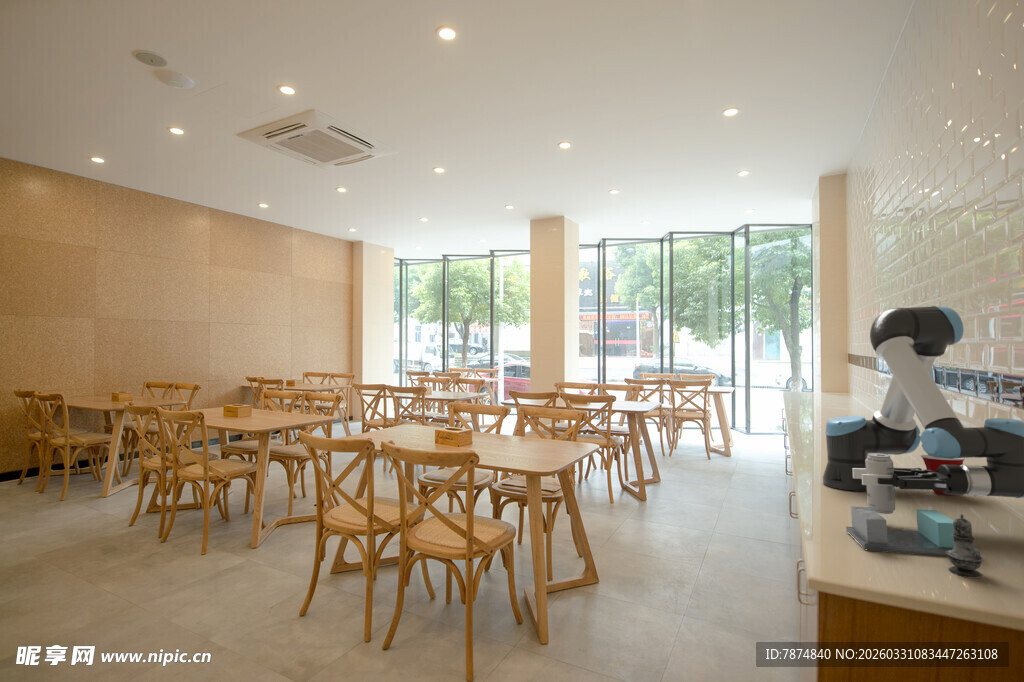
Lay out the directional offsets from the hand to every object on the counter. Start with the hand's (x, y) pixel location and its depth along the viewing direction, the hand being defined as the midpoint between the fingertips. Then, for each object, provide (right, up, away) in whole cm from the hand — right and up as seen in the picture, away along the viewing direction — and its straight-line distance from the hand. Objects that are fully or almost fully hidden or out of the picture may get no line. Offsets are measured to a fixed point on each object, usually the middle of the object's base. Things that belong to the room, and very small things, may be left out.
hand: (857, 476), depth 135 cm
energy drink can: (+5, -9, -2) cm, 11 cm away
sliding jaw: (+7, -10, -18) cm, 21 cm away
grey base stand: (+1, -12, -16) cm, 20 cm away
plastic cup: (+45, -12, +24) cm, 52 cm away
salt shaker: (0, -12, -32) cm, 34 cm away
